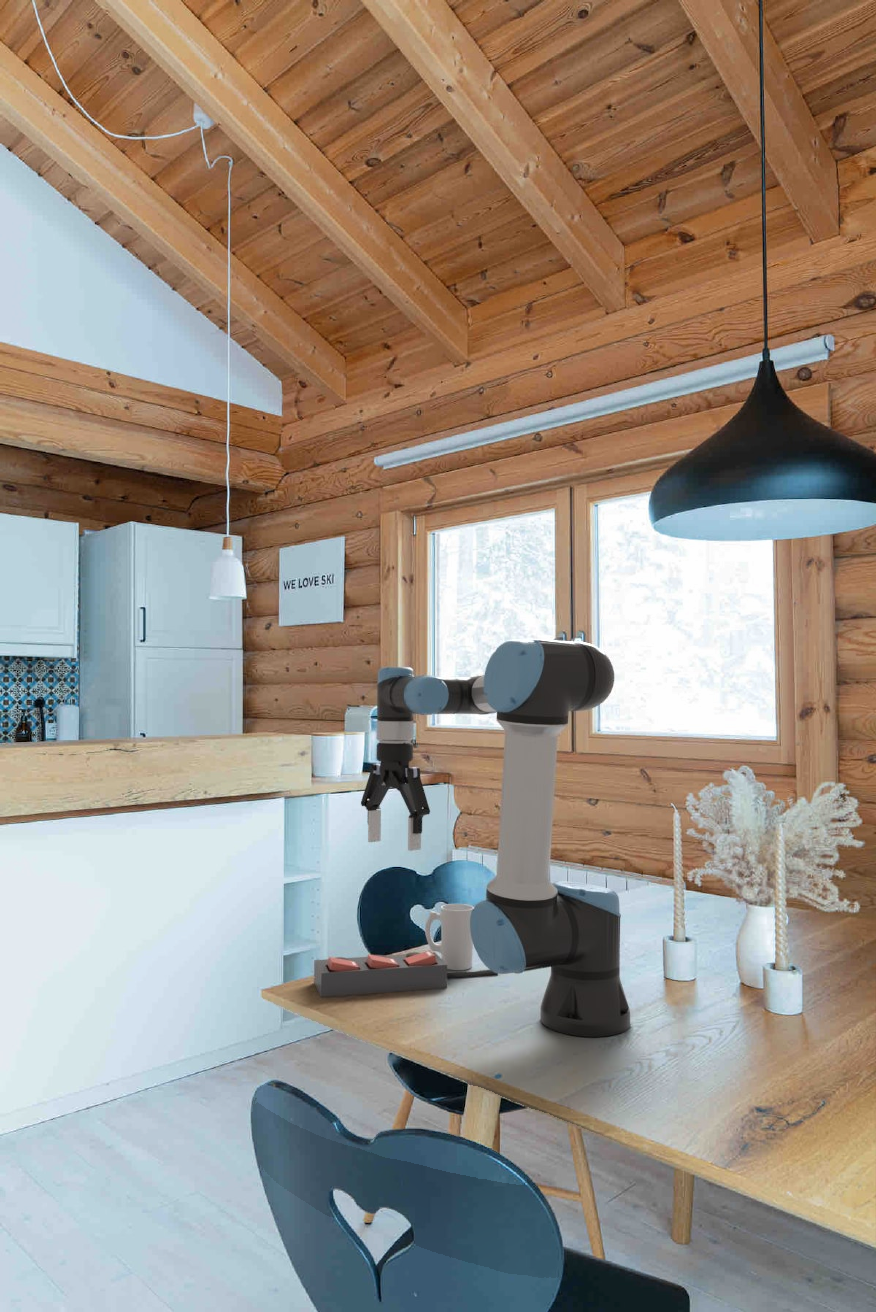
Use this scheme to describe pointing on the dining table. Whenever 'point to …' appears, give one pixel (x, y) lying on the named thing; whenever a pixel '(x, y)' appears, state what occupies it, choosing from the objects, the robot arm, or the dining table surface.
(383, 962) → the rocker
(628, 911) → the dining table surface
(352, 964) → the rocker
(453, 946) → the mug
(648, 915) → the dining table surface
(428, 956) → the rocker
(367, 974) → the switch panel
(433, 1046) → the dining table surface
